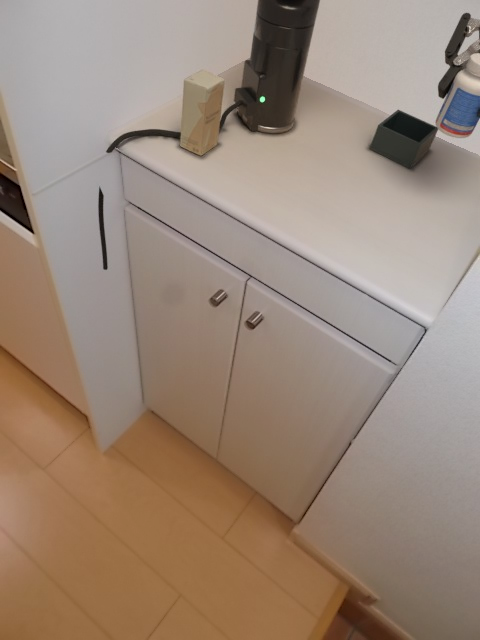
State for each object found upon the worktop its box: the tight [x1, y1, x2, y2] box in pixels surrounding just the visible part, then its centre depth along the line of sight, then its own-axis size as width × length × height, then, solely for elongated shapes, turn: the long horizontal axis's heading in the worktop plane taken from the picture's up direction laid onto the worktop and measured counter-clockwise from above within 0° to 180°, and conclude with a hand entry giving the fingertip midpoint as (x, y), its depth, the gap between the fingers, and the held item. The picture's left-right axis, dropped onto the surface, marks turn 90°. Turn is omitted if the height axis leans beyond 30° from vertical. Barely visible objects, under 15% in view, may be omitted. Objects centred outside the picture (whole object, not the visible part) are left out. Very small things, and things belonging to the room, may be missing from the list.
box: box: [179, 69, 226, 156], centre depth 82 cm, size 5×4×11 cm
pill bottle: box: [434, 53, 480, 139], centre depth 71 cm, size 6×5×10 cm
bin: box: [369, 109, 439, 169], centre depth 91 cm, size 8×8×5 cm
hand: (460, 104), depth 71 cm, fingers closed on pill bottle, 5 cm apart
